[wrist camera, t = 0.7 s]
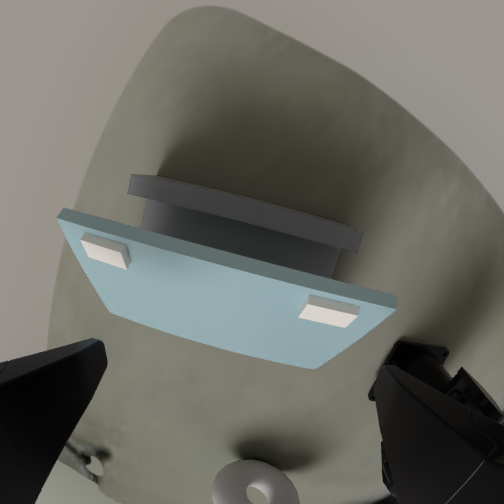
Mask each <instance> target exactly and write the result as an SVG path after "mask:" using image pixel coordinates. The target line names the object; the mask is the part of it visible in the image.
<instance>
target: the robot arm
mask: <svg viewBox="0 0 504 504" xmlns="http://www.w3.org/2000/svg"><path fill="white" fill-rule="evenodd" d="M399 346H401V347H400V348H399ZM443 353H444V354H443ZM448 354H449V351H448V349H447V348H444V347H437V346H430V345H424V344H418V343H412V342H406V341H398V342H397V343H396V344H395V345H394V347H393V350H392V352H391V353H390V355H389V357H388V359H387V361H386V363H385V364H384V366H382V367H381V368H380V371H379V374H378V377H377V379H376V381H375V382H374V384H373V387H372V389H371V390H370V392H369V394H368V398H369V400H370V401H375V402H376V408H377V414H378V420H379V426H380V431H381V435H382V439H383V441H382V442H381V454H382V477H383V483H384V484H385V485H386V487H387V489H388V490H389V491H390V492H391V494H392V495H393V496H395V497H396V498H397V500H398V503H399V504H504V425H502V424H501V423H502V422H503V421H504V414H503V412H502V411H501V409H500V408H499V406H498V405H497V404H496V402H495V401H494V400H493V398H492V397H491V396H490V395H489V394H488V393H487V391H486V390H485V389H484V388H483V387H482V386H481V385H480V384H479V383H478V382H477V381H476V380H475V379H474V378H473V377H472V376H471V375H470V374H469V373H468V372H467V371H466V370H465V369H464V368H463V367H461V368H460V369H459V370H458V373H457V374H456V375H455V376H454V377H453V378H452V377H451V376H450V374H449V373H448V372H447V371H446V370H445V368H444V367H443V366H442V365H443V364H444V362H445V360H446V358H447V356H448ZM107 364H108V361H107V356H106V351H105V346H104V343H103V341H101V340H98V339H94V338H90V339H87V340H83V341H80V342H76V343H73V344H69V345H66V346H62V347H58V348H55V349H51V350H47V351H44V352H40V353H36V354H33V355H29V356H25V357H21V358H17V359H13V360H10V361H5V362H1V363H0V504H35V502H36V500H37V498H38V496H39V494H40V492H41V490H42V488H43V485H44V484H45V482H46V480H47V478H48V476H49V474H50V472H51V470H52V468H53V467H54V464H55V463H56V461H57V459H58V457H59V455H60V454H61V452H62V450H63V448H64V446H65V445H66V443H67V441H68V439H69V437H70V436H71V434H72V432H73V430H74V429H75V427H76V425H77V424H78V422H79V420H80V418H81V417H82V415H83V413H84V412H85V410H86V408H87V407H88V405H89V403H90V401H91V400H92V398H93V396H94V394H95V391H96V389H97V387H98V385H99V383H100V381H101V378H102V376H103V374H104V372H105V370H106V368H107ZM373 395H374V396H373Z"/></svg>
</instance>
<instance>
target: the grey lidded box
mask: <svg viewBox="0 0 504 504" xmlns="http://www.w3.org/2000/svg"><path fill="white" fill-rule="evenodd" d="M127 194H131V195H135V196H139V197H144V198H147V200H146V205H145V211H144V216H143V222H142V228H141V229H144V230H147V231H151V232H155V233H159V234H162V235H166V236H170V237H173V238H177V239H181V240H185V241H188V242H192V243H196V244H200V245H203V246H207V247H211V248H215V249H218V250H222V251H226V252H230V253H233V254H237V255H241V256H245V257H249V258H252V259H256V260H260V261H264V262H268V263H271V264H275V265H279V266H283V267H287V268H290V269H294V270H298V271H302V272H306V273H310V274H313V275H317V276H321V277H325V278H329V279H332V277H333V274H334V271H335V268H336V265H337V262H338V258H339V255H340V252H341V249H344V250H348V251H351V252H355V253H357V250H358V247H359V244H360V241H361V238H362V234H363V233H361V232H359V231H358V230H356V229H354V228H352V227H350V226H348V225H346V224H343V223H340V222H337V221H333V220H330V219H327V218H323V217H320V216H316V215H313V214H309V213H306V212H302V211H299V210H295V209H292V208H288V207H284V206H281V205H277V204H273V203H270V202H266V201H262V200H258V199H254V198H250V197H246V196H242V195H238V194H234V193H230V192H226V191H222V190H218V189H214V188H210V187H205V186H201V185H197V184H192V183H188V182H183V181H179V180H174V179H169V178H165V177H160V176H154V175H136V174H131V178H130V183H129V188H128V193H127Z"/></svg>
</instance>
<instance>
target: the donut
mask: <svg viewBox="0 0 504 504" xmlns="http://www.w3.org/2000/svg"><path fill="white" fill-rule="evenodd" d="M248 486H253V487H255V488H258V489H259V490H261V491H262V492H263V493H264V494H265V496H266V497H267V500H268V504H300V501H299V497H298V493H297V490H296V489H295V487H294V485H293V483H292V482H291V481H290V479H289V478H288V477H287V476H286V475H285V474H284V473H283V472H281V471H280V470H279V469H277V468H276V467H274V466H272V465H270V464H267V463H265V462H262V461H257V460H238V461H235V462H233V463H230V464H228V465H226V466H225V467H224V468H223V469H222V470H221V471H220V472H218V474H217V475H216V477H215V480H214V482H213V484H212V499H213V502H214V504H252V503H251V501H250V500H249V499H248V497H247V494H246V488H247V487H248Z"/></svg>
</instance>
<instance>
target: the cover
mask: <svg viewBox="0 0 504 504" xmlns="http://www.w3.org/2000/svg"><path fill="white" fill-rule="evenodd" d="M57 220H58V222H59V224H60V226H61V228H62V230H63V232H64V234H65V236H66V238H67V240H68V242H69V244H70V246H71V248H72V250H73V252H74V253H75V255H76V257H77V259H78V261H79V262H80V264H81V266H82V268H83V269H84V271H85V273H86V275H87V276H88V278H89V280H90V281H91V283H92V285H93V286H94V288H95V290H96V291H97V293H98V294H99V296H100V298H101V299H102V301H103V302H104V304H105V305H106V307H107V308H108V310H109V311H110V312H111V313H113V314H116V315H118V316H121V317H124V318H126V319H129V320H132V321H135V322H138V323H140V324H143V325H146V326H149V327H152V328H155V329H158V330H161V331H164V332H167V333H170V334H173V335H176V336H180V337H183V338H186V339H189V340H193V341H196V342H200V343H203V344H206V345H210V346H214V347H217V348H221V349H225V350H228V351H232V352H236V353H240V354H244V355H248V356H252V357H257V358H261V359H265V360H270V361H274V362H279V363H283V364H288V365H293V366H298V367H303V368H309V369H314V370H315V369H317V368H318V367H320V366H321V365H323V364H324V363H326V362H327V361H329V360H330V359H332V358H333V357H334V356H336V355H337V354H339V353H340V352H342V351H343V350H344V349H346V348H347V347H349V346H350V345H351V344H353V343H354V342H356V341H357V340H358V339H360V338H361V337H362V336H364V335H365V334H366V333H368V332H369V331H370V330H372V329H373V328H374V327H375V326H377V325H378V324H379V323H381V322H382V321H383V320H384V319H386V318H387V317H388V316H389V315H391V314H392V313H393V312H394V311H395V310H397V303H396V296H395V295H391V294H387V293H383V292H379V291H375V290H372V289H368V288H364V287H360V286H356V285H352V284H348V283H344V282H340V281H337V280H333V279H329V278H325V277H321V276H317V275H313V274H310V273H306V272H302V271H298V270H294V269H290V268H287V267H283V266H279V265H275V264H271V263H268V262H264V261H260V260H256V259H252V258H249V257H245V256H241V255H237V254H233V253H230V252H226V251H222V250H218V249H215V248H211V247H207V246H203V245H200V244H196V243H192V242H188V241H185V240H181V239H177V238H173V237H170V236H166V235H162V234H159V233H155V232H151V231H147V230H144V229H140V228H136V227H133V226H129V225H125V224H122V223H118V222H114V221H111V220H107V219H103V218H100V217H96V216H92V215H89V214H85V213H81V212H78V211H74V210H70V209H67V208H63V210H62V211H61V213H60V214H59V215H58V217H57Z"/></svg>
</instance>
